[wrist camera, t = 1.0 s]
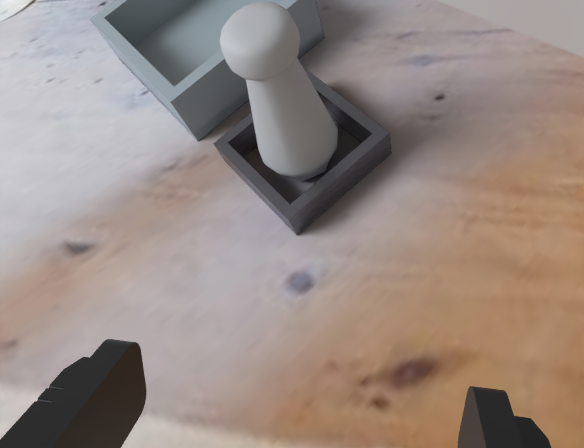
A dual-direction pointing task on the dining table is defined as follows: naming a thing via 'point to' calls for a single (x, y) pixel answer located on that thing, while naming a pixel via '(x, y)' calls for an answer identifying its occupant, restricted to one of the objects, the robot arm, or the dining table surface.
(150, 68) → the bin
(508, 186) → the dining table surface
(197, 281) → the dining table surface
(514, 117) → the dining table surface
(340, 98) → the dark grey square tray
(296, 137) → the salt shaker
